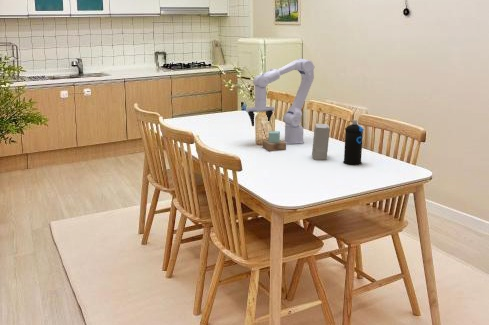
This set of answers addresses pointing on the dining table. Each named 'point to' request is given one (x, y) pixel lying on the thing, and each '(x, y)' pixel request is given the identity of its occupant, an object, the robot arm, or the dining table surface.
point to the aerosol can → (353, 144)
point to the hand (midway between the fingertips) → (260, 125)
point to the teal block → (274, 136)
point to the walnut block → (274, 146)
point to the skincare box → (320, 141)
